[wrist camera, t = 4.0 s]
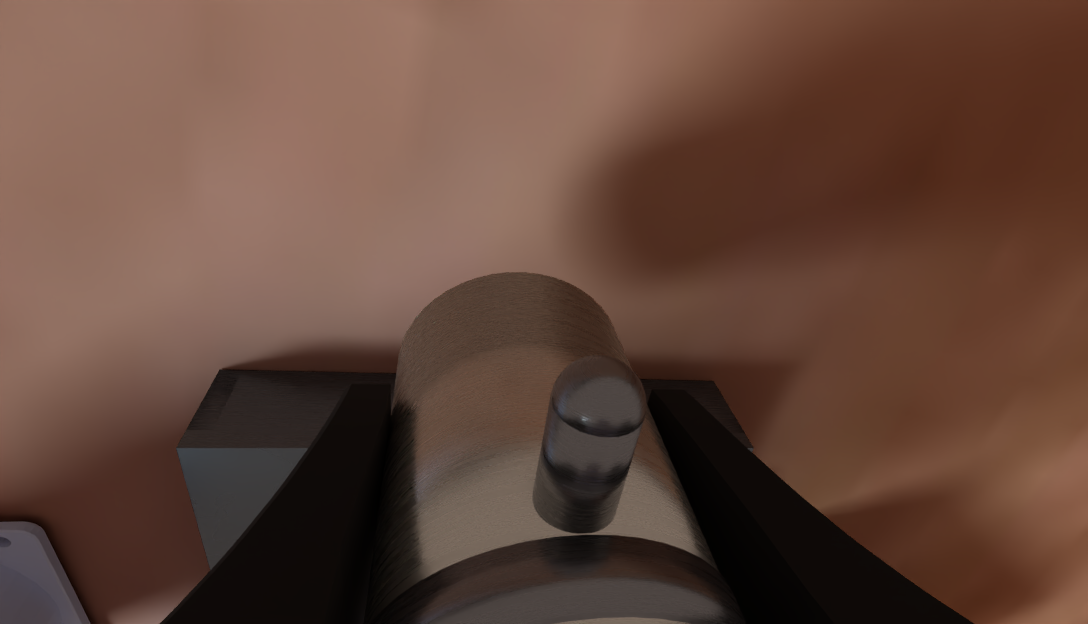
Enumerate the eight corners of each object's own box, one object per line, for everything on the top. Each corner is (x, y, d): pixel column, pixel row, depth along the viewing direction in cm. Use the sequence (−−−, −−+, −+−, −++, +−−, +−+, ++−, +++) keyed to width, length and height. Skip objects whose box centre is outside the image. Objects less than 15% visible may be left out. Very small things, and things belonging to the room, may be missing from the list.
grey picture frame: (269, 612, 22) (236, 729, 19) (219, 369, 16) (157, 481, 13) (668, 592, 25) (701, 690, 22) (758, 382, 19) (822, 474, 16)
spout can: (394, 450, 12) (348, 861, 7) (394, 165, 9) (304, 506, 3) (599, 450, 13) (705, 814, 7) (666, 189, 10) (941, 494, 4)
